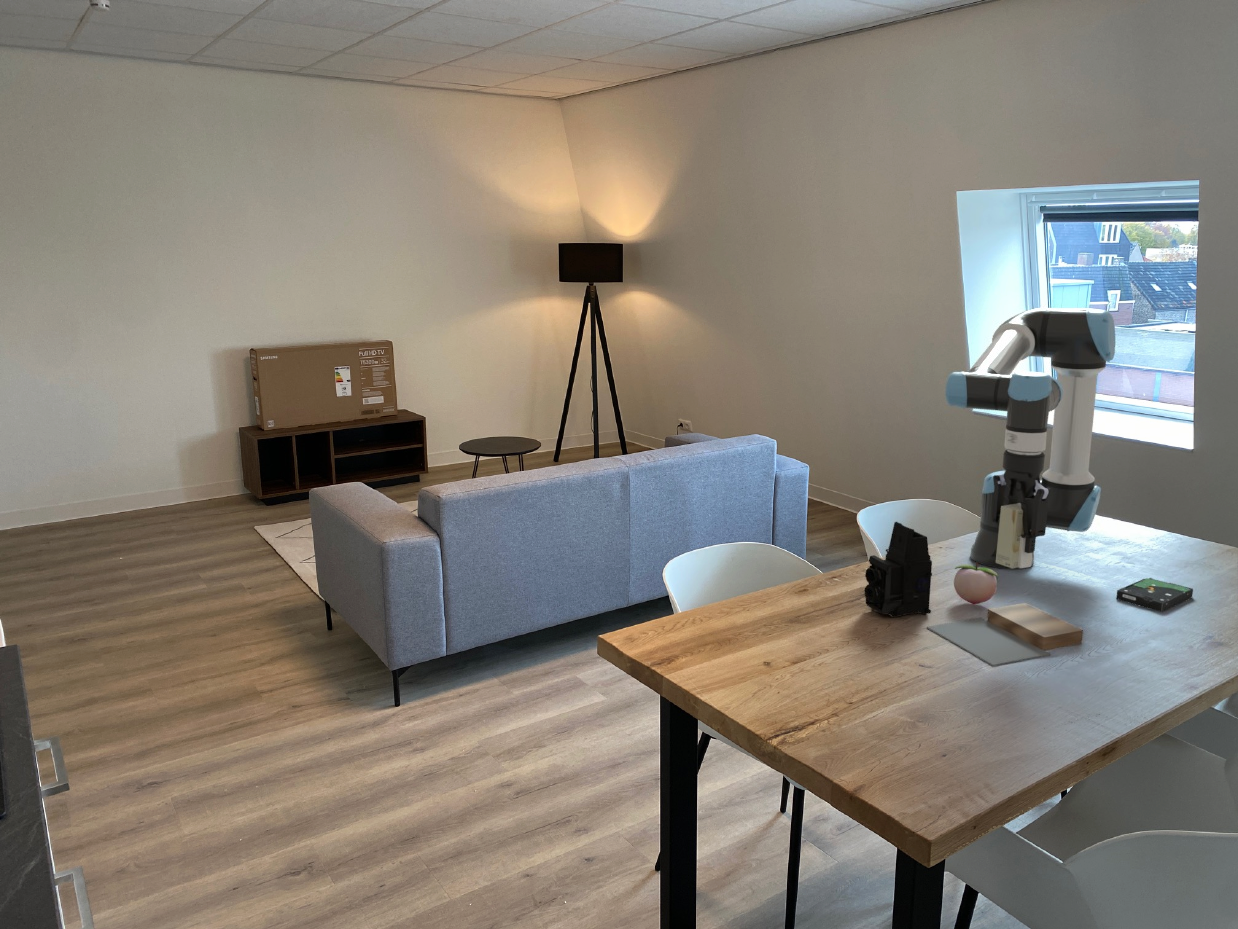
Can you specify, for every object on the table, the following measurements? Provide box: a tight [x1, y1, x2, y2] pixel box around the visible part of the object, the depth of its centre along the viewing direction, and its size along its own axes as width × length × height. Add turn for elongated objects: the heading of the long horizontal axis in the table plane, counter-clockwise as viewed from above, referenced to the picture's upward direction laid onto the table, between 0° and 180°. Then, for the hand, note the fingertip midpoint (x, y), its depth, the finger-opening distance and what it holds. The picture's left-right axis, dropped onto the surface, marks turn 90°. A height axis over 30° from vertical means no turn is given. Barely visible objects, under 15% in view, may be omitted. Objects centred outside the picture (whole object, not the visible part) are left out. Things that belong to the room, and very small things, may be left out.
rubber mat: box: [926, 617, 1051, 667], centre depth 191 cm, size 20×14×1 cm
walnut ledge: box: [986, 602, 1084, 652], centre depth 195 cm, size 16×10×3 cm, turn 19°
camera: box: [864, 521, 933, 618], centre depth 205 cm, size 10×14×20 cm
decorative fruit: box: [953, 562, 999, 605], centre depth 209 cm, size 9×8×10 cm
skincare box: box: [996, 503, 1035, 568], centre depth 188 cm, size 6×4×12 cm
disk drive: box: [1115, 577, 1194, 613], centre depth 213 cm, size 10×3×15 cm
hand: (1014, 562), depth 189 cm, fingers closed on skincare box, 5 cm apart
